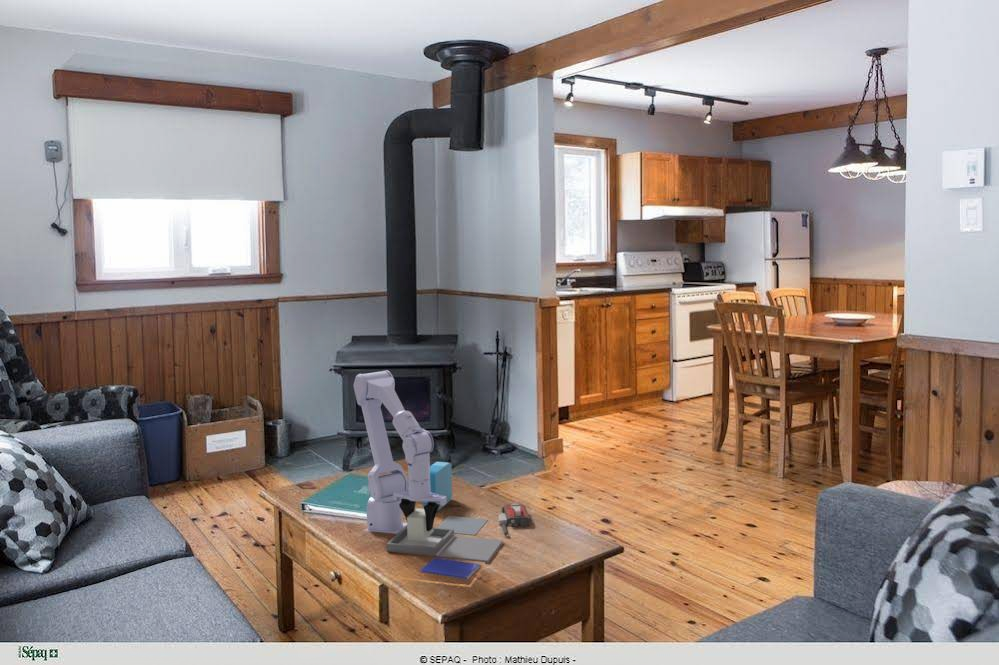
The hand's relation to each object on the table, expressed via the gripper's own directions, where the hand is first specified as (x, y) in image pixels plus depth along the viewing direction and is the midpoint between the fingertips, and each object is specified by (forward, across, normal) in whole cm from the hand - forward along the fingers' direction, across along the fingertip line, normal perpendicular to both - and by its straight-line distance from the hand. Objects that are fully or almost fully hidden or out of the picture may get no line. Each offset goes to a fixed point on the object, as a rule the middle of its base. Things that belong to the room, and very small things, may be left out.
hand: (420, 528), depth 207 cm
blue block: (+5, +10, -30) cm, 32 cm away
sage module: (+2, 0, 0) cm, 2 cm away
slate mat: (+5, -5, -15) cm, 17 cm away
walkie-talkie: (+5, -18, -23) cm, 29 cm away
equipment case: (+5, -7, -1) cm, 8 cm away
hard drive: (+5, -14, +12) cm, 19 cm away
